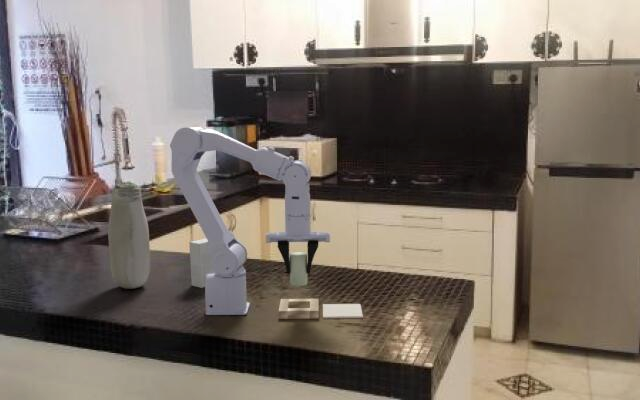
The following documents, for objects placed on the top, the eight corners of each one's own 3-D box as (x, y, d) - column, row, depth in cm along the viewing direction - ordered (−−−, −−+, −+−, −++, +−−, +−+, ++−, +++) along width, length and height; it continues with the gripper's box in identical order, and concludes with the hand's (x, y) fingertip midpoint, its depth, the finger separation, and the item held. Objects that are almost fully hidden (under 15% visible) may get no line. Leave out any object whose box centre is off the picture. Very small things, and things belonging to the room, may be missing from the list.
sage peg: (289, 286, 152) (289, 256, 150) (290, 281, 155) (289, 252, 154) (307, 286, 152) (306, 256, 150) (307, 281, 155) (307, 252, 154)
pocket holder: (278, 318, 150) (278, 311, 150) (280, 306, 159) (280, 299, 159) (318, 318, 150) (318, 310, 150) (318, 305, 159) (318, 298, 159)
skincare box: (207, 280, 182) (206, 237, 180) (218, 283, 179) (217, 239, 177) (190, 285, 177) (188, 241, 175) (201, 288, 175) (199, 243, 173)
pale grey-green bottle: (156, 288, 175) (151, 183, 170) (116, 295, 169) (110, 186, 165) (145, 280, 183) (140, 179, 179) (107, 285, 178) (100, 181, 173)
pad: (323, 318, 150) (323, 316, 150) (322, 305, 159) (322, 304, 159) (362, 317, 150) (362, 316, 150) (360, 305, 159) (360, 303, 159)
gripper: (264, 218, 147) (265, 277, 149) (329, 217, 147) (330, 277, 149) (266, 212, 154) (268, 269, 156) (329, 211, 154) (329, 268, 156)
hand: (298, 272), depth 153 cm, fingers closed on sage peg, 4 cm apart
